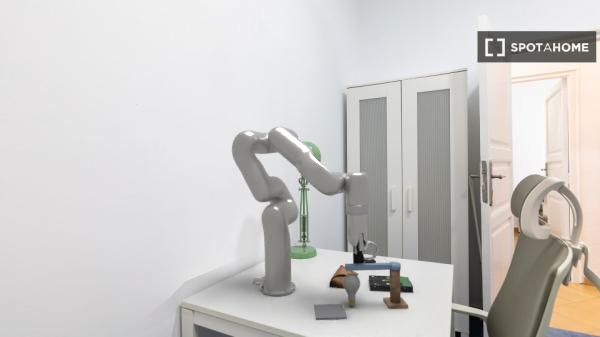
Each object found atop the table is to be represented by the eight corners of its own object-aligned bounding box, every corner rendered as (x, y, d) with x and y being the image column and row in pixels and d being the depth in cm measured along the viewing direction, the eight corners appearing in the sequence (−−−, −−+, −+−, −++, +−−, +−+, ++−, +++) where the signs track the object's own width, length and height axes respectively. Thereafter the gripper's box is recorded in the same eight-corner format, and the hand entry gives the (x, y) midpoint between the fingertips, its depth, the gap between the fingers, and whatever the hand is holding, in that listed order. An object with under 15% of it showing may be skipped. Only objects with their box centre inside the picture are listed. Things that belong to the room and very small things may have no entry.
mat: (316, 319, 91) (316, 318, 91) (314, 306, 100) (314, 304, 100) (347, 318, 91) (347, 317, 91) (342, 305, 100) (342, 303, 100)
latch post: (389, 308, 97) (388, 272, 97) (383, 300, 103) (382, 266, 103) (408, 308, 97) (407, 272, 97) (401, 300, 103) (400, 266, 103)
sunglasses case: (352, 289, 112) (342, 272, 113) (335, 297, 114) (326, 281, 115) (359, 273, 129) (350, 258, 130) (344, 280, 131) (336, 266, 132)
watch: (358, 264, 141) (358, 240, 140) (376, 264, 141) (375, 239, 141) (361, 268, 135) (361, 243, 135) (380, 268, 135) (379, 242, 135)
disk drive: (370, 292, 111) (413, 294, 109) (370, 285, 111) (413, 286, 109) (368, 282, 121) (408, 283, 119) (368, 274, 121) (407, 275, 119)
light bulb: (358, 301, 102) (357, 271, 102) (362, 309, 97) (361, 277, 97) (341, 302, 102) (341, 271, 102) (344, 309, 97) (344, 277, 97)
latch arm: (346, 271, 98) (346, 266, 98) (344, 267, 101) (344, 263, 101) (402, 270, 98) (402, 265, 98) (398, 266, 102) (398, 261, 102)
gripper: (342, 207, 110) (343, 259, 110) (350, 213, 95) (351, 273, 96) (363, 206, 111) (364, 258, 111) (374, 212, 96) (376, 272, 96)
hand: (358, 265), depth 103 cm, fingers closed
